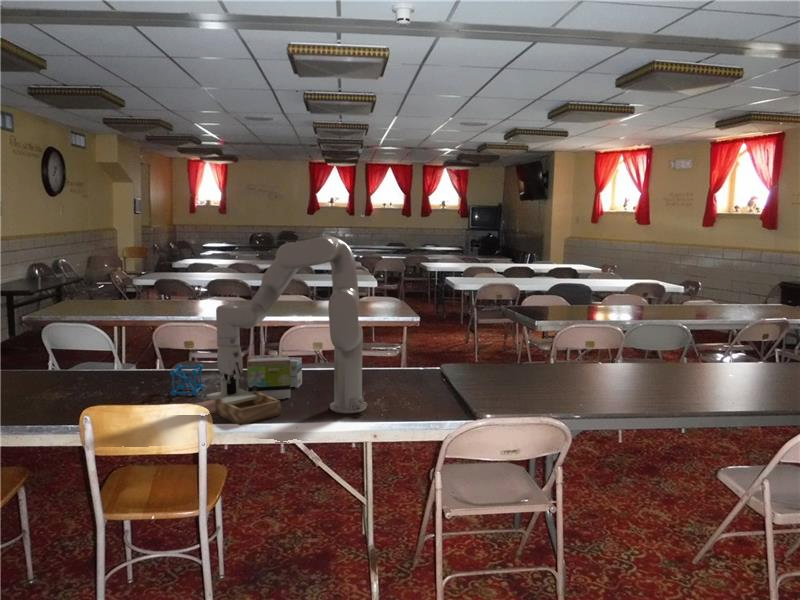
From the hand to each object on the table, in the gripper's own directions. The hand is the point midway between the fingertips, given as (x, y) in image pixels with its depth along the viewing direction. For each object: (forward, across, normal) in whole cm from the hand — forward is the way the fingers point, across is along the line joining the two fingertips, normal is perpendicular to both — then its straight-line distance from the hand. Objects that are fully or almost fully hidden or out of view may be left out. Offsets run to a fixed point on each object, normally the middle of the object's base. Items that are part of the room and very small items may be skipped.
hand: (230, 392), depth 213 cm
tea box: (+5, +1, -16) cm, 17 cm away
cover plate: (+1, -2, 0) cm, 2 cm away
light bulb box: (+5, +9, -29) cm, 31 cm away
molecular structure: (+5, +25, +4) cm, 26 cm away
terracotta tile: (+5, +3, +3) cm, 6 cm away
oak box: (+5, -12, 0) cm, 13 cm away
